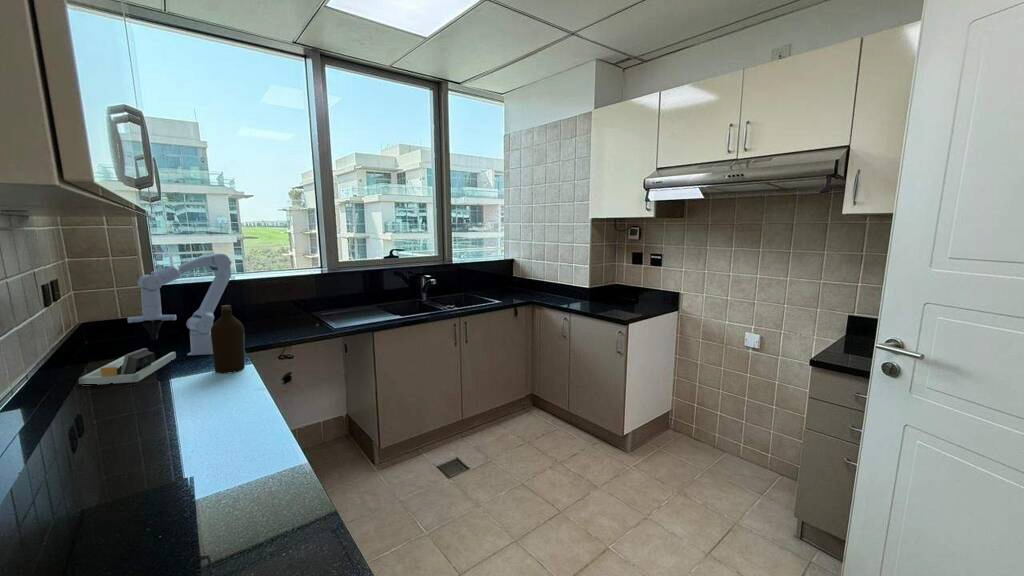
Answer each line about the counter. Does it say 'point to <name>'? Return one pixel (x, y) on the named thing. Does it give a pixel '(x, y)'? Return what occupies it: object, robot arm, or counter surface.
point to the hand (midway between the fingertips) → (154, 339)
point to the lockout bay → (109, 374)
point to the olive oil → (227, 342)
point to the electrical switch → (136, 361)
